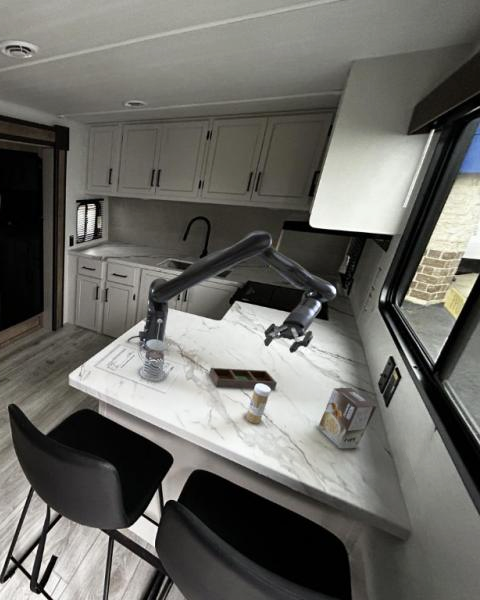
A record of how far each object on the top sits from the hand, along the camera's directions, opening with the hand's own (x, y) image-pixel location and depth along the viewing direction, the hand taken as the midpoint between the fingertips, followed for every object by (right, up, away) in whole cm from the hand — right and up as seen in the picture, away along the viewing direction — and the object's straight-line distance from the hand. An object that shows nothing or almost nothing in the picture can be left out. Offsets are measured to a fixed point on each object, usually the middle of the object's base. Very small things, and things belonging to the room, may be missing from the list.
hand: (277, 347), depth 113 cm
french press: (-42, -13, +17) cm, 47 cm away
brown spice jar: (-12, -24, -5) cm, 27 cm away
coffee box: (+12, -27, -11) cm, 32 cm away
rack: (-6, -16, +14) cm, 22 cm away
